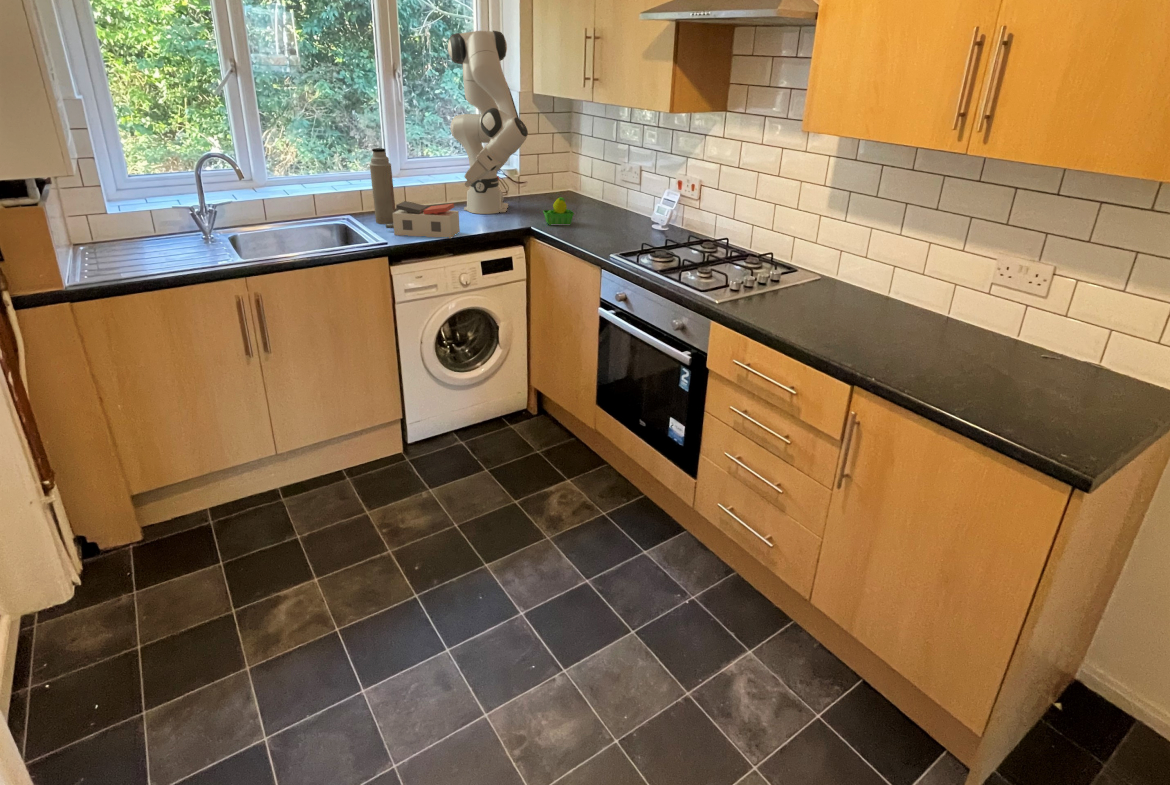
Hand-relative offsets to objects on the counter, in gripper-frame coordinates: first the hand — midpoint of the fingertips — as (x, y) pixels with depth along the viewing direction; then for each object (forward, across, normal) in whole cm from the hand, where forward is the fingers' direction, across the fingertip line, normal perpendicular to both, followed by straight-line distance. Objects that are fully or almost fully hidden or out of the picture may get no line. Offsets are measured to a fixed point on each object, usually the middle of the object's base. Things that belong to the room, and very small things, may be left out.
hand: (466, 185), depth 258 cm
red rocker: (+15, 0, 0) cm, 15 cm away
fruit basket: (-7, -27, +34) cm, 43 cm away
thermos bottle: (+41, -15, -15) cm, 46 cm away
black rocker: (+23, 0, -8) cm, 24 cm away
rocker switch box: (+26, 0, 0) cm, 26 cm away
